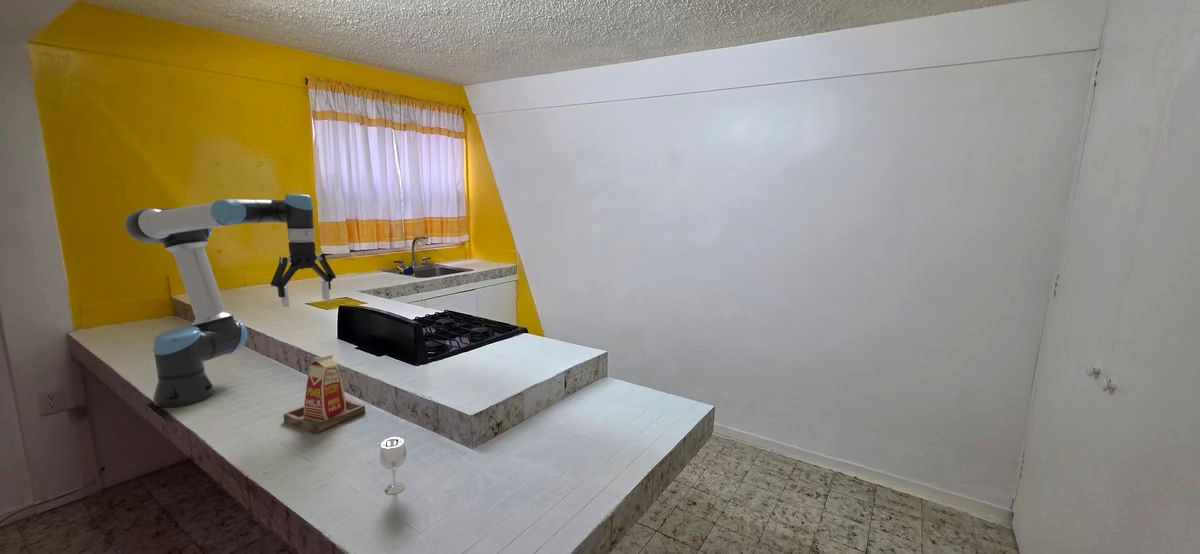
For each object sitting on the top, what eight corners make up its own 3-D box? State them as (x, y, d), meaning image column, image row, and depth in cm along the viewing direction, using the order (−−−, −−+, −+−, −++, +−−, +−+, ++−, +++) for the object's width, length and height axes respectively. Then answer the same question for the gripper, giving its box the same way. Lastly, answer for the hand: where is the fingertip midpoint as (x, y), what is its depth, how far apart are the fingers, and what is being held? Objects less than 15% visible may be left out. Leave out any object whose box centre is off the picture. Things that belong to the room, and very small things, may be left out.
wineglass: (386, 481, 113) (384, 436, 111) (410, 480, 113) (409, 436, 111) (377, 496, 107) (375, 449, 105) (402, 495, 107) (400, 449, 106)
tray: (284, 421, 141) (283, 413, 140) (334, 401, 155) (333, 394, 154) (315, 434, 133) (315, 426, 133) (365, 412, 148) (364, 405, 147)
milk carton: (326, 423, 139) (322, 361, 136) (302, 419, 141) (296, 357, 138) (349, 410, 148) (345, 351, 144) (326, 406, 150) (321, 348, 146)
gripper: (267, 244, 140) (273, 311, 143) (344, 239, 162) (347, 297, 165) (253, 242, 143) (260, 308, 147) (331, 238, 165) (334, 295, 169)
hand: (306, 302), depth 156 cm, fingers open, 13 cm apart
